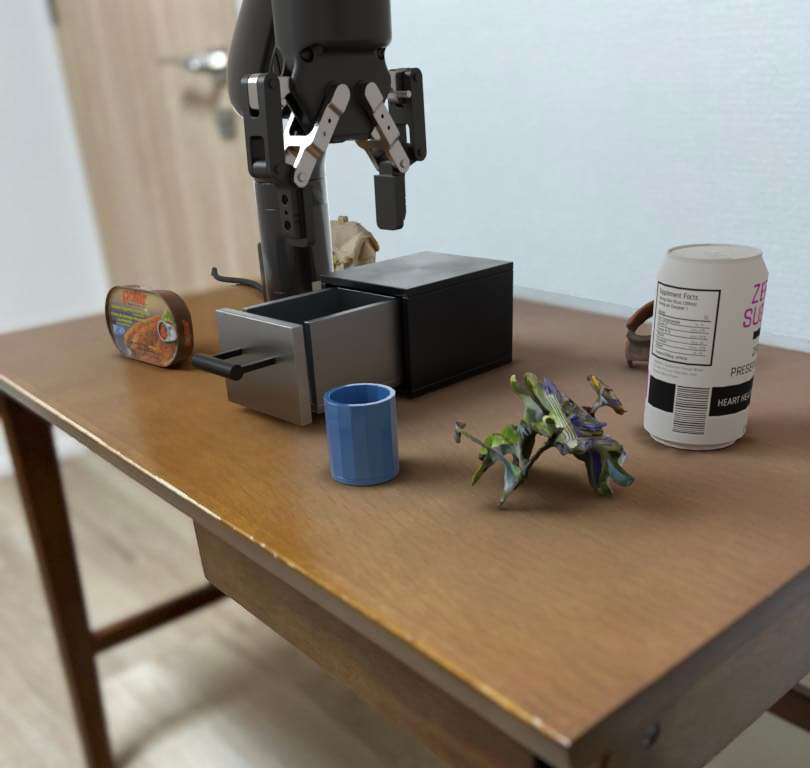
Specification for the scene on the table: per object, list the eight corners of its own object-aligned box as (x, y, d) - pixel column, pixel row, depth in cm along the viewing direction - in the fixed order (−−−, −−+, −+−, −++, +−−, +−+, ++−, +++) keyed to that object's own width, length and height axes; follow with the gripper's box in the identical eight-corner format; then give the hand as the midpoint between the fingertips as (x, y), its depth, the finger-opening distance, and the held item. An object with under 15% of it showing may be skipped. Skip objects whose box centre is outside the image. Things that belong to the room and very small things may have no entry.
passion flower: (591, 557, 67) (681, 466, 58) (466, 565, 63) (541, 469, 53) (544, 438, 72) (620, 337, 63) (425, 438, 68) (488, 330, 58)
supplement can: (633, 419, 78) (648, 244, 71) (728, 417, 77) (751, 240, 71) (653, 454, 71) (672, 263, 64) (757, 451, 70) (787, 258, 63)
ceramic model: (291, 285, 137) (284, 218, 133) (340, 273, 145) (335, 208, 140) (357, 295, 129) (352, 223, 124) (406, 281, 136) (403, 213, 132)
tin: (110, 352, 106) (95, 282, 103) (132, 347, 108) (119, 277, 105) (180, 373, 97) (168, 297, 93) (204, 367, 99) (192, 291, 95)
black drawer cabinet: (412, 399, 86) (407, 289, 81) (328, 376, 94) (319, 274, 89) (512, 362, 95) (513, 261, 90) (428, 343, 103) (425, 250, 98)
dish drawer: (257, 442, 75) (243, 340, 71) (184, 414, 82) (168, 320, 78) (416, 385, 87) (412, 295, 82) (340, 366, 94) (333, 282, 90)
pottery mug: (740, 382, 87) (714, 316, 83) (648, 419, 91) (619, 358, 86) (715, 322, 96) (691, 259, 91) (633, 358, 100) (605, 300, 95)
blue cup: (317, 473, 70) (309, 396, 67) (367, 453, 74) (361, 378, 71) (363, 492, 67) (357, 411, 64) (413, 469, 70) (410, 391, 67)
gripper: (273, -51, 48) (303, 258, 55) (450, -39, 56) (455, 227, 64) (197, -35, 52) (234, 248, 60) (371, -26, 61) (384, 220, 69)
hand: (348, 237), depth 62 cm, fingers open, 8 cm apart
